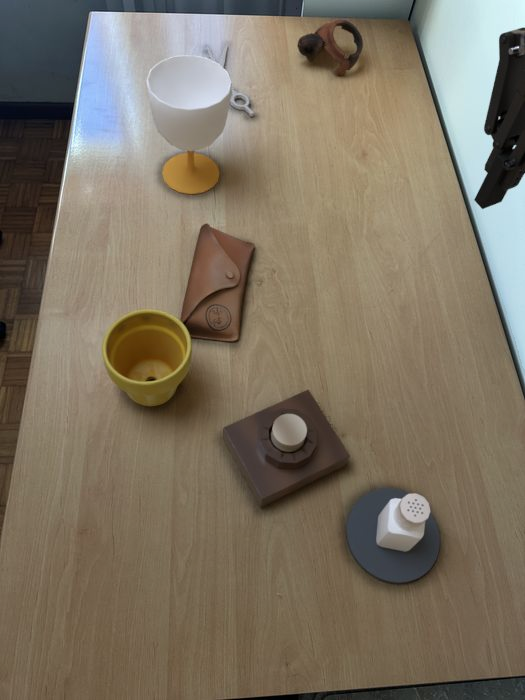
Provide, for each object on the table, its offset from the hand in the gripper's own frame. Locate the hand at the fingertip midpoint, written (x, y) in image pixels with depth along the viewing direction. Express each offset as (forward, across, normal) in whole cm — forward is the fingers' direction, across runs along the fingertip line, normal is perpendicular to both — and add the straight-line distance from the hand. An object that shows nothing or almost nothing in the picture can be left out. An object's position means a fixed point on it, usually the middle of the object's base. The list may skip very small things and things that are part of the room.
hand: (487, 200), depth 73 cm
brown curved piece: (+25, -56, +17) cm, 64 cm away
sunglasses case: (+25, -18, -24) cm, 38 cm away
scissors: (+24, -59, -3) cm, 64 cm away
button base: (+24, +8, -27) cm, 38 cm away
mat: (+24, +23, -21) cm, 40 cm away
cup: (+25, -40, -18) cm, 50 cm away
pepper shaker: (+24, +23, -21) cm, 39 cm away
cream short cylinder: (+20, +8, -27) cm, 35 cm away
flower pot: (+25, -8, -38) cm, 46 cm away
